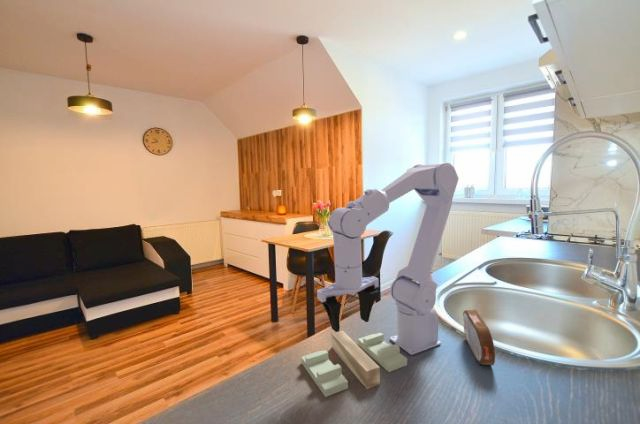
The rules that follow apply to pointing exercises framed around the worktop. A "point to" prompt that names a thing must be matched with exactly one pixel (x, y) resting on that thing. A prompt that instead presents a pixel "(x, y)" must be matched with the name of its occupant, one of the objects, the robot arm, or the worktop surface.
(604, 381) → the worktop surface
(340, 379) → the stand
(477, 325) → the brown rounded slab
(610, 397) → the worktop surface
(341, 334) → the bar
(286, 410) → the worktop surface
